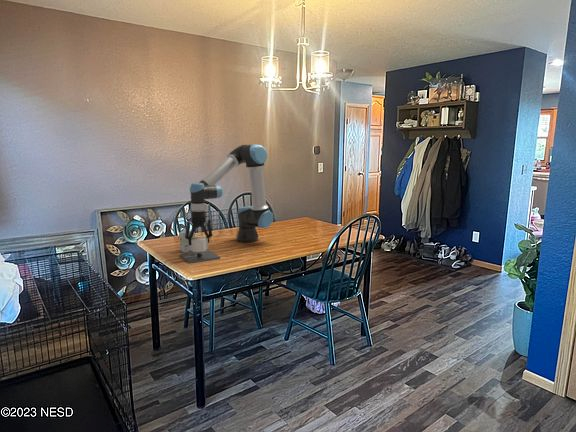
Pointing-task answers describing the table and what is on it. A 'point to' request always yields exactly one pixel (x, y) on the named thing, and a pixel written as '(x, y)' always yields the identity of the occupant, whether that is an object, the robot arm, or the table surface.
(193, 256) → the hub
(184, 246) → the ink box
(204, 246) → the light grey boxy piece
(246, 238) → the robot arm
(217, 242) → the table surface
